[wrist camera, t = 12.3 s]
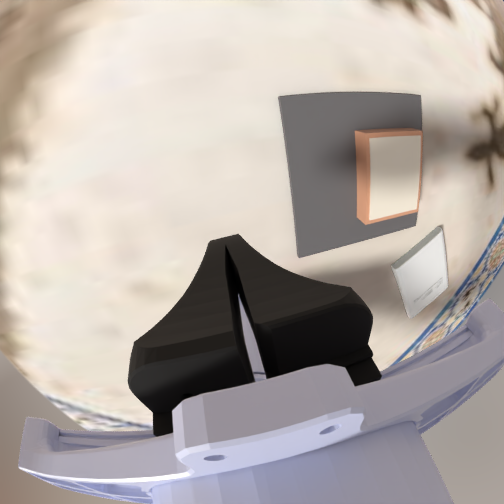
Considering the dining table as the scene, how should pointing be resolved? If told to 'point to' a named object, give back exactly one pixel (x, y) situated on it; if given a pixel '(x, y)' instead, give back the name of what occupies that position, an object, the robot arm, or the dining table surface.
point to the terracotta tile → (388, 172)
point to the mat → (337, 162)
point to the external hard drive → (422, 272)
